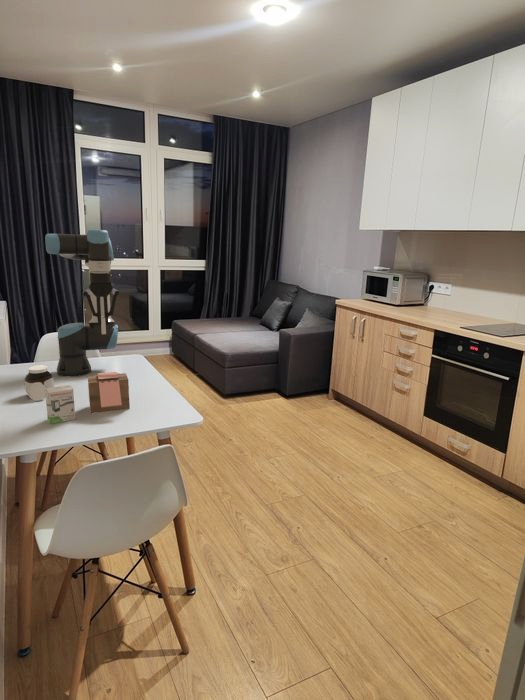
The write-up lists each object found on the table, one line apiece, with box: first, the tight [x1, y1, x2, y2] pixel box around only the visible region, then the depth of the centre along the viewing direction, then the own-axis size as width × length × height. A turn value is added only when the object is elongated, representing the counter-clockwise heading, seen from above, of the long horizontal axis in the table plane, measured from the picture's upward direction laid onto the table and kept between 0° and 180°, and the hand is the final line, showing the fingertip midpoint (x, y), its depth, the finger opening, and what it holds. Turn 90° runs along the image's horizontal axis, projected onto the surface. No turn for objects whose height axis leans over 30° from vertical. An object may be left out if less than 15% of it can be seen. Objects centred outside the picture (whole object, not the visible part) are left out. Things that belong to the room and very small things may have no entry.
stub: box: [99, 380, 122, 408], centre depth 160 cm, size 10×7×1 cm
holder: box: [87, 371, 131, 414], centre depth 167 cm, size 8×14×13 cm, turn 113°
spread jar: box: [24, 364, 55, 402], centre depth 176 cm, size 12×11×12 cm
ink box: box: [45, 384, 77, 425], centre depth 155 cm, size 9×5×12 cm, turn 125°
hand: (103, 333), depth 170 cm, fingers closed
